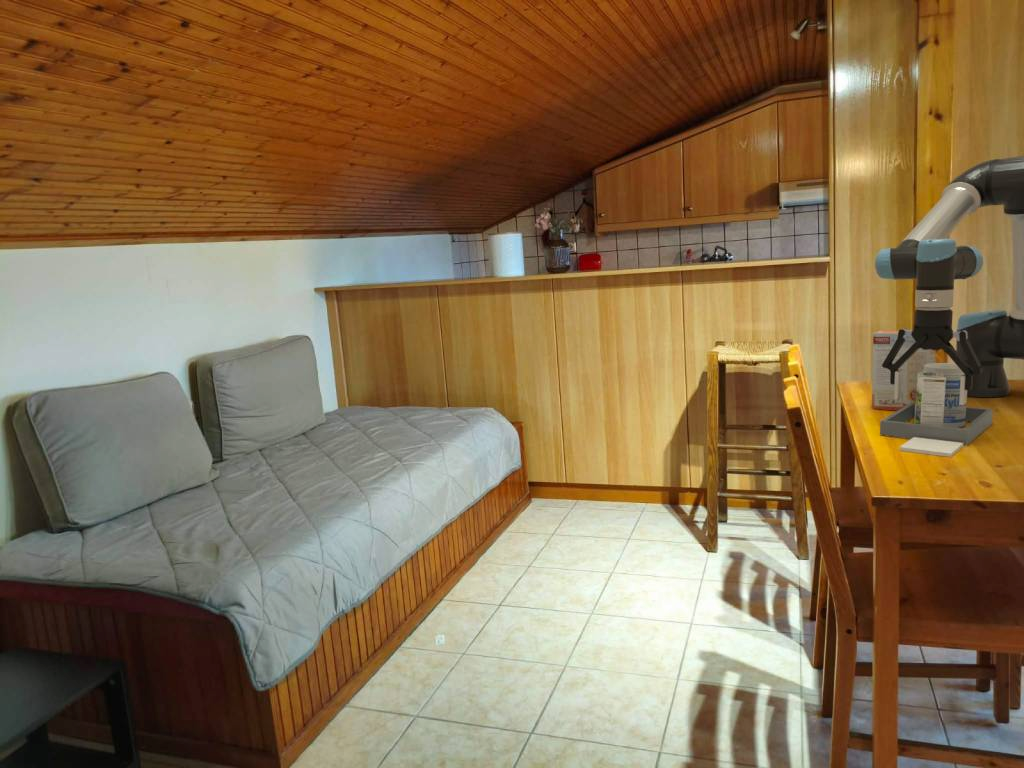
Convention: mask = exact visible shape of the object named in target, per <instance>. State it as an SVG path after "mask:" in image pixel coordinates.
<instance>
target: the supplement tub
mask: <svg viewBox="0 0 1024 768" xmlns="http://www.w3.org/2000/svg"><path fill="white" fill-rule="evenodd" d="M923 372H936V373H944V374H945V376H946V386H945V404H944V421H943V427H952V428H963V427H965V425H966V422H965V420H966V407H967V400H968V397H967V398H966V404H964V405H959V401H960V382H961V376H962V375H964V373H963V372H962V371H961V369H960V368H959V367H958V366H957V365H956V364H955V362H954V363H953V362H951V363H950V362H935V363H930V364H925V365H924V370H923Z"/></svg>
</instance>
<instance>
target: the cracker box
mask: <svg viewBox="0 0 1024 768" xmlns="http://www.w3.org/2000/svg"><path fill="white" fill-rule="evenodd" d="M898 332H899V330H878V331H876V332H873V335H872V337H873V338H872V341H873V343H872V372H871V373H872V374H871V375H872V376H871V377H872V378H871V409H872V408H873V410H882V411H883V410H884V411H886V410H887V411H894V412H896V411H898V410H900V409H901V408H903V407H905V406H906V405H908V404H910V403H911V402H915V401H916V388H917V374H918V373H920V372H923V370H924V365H925V364H930V363H936V353H937V352H936V351H937V350H932V349H929V350H923V349H922V348H919V349H918V350H917V351H916V352H915V353H914V354H913V355H912V356H911V357H910V358H909V359H908V360H907V361H906V362H905V363H904V364H903V365H902V366H901V367H900V368H899V369H898V370H902V386H901V398H899V399H894V386H895V384H891V383H890V375H891V372H890V370H889V369H887V368H883V367H882V364H883V362H884V361H885V359H886V357H887V355H888V354H889V352H890V350H891V349H892V347H893V345H894V344H895V342H896V340H897V338H898ZM915 342H916V341H915V340H914V339H913V337H912V335H910V336H909V338H908V339H906V340H905V342H904V343H903V345H902V347H901V348H900V350H899V352H898V354H897V355H896V357H895V359H894V360H893V362H892V364H894V363H895V362H896V361H897V360H898V359H899V358H900V357H901V356H902V355H903V354H904V353H905V352H906V351H907V350H908V349H909V348H910V347H911V346H912V345H913V344H914V343H915Z"/></svg>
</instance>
